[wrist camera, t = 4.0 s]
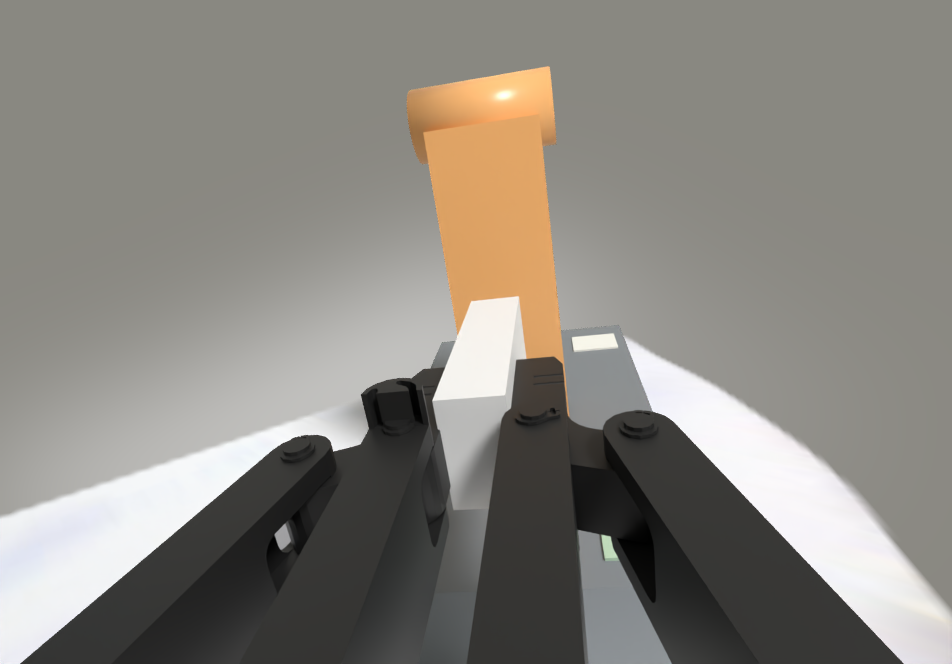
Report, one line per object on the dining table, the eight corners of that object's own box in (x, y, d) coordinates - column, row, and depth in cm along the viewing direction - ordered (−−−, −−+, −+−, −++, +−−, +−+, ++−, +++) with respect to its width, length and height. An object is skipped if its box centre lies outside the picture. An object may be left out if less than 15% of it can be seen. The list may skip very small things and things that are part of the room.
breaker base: (353, 668, 17) (329, 591, 16) (449, 384, 36) (441, 340, 35) (719, 666, 16) (719, 580, 15) (621, 369, 34) (618, 322, 33)
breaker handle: (462, 433, 23) (401, 87, 18) (470, 400, 26) (419, 91, 21) (582, 425, 22) (549, 62, 18) (578, 391, 25) (548, 69, 20)
